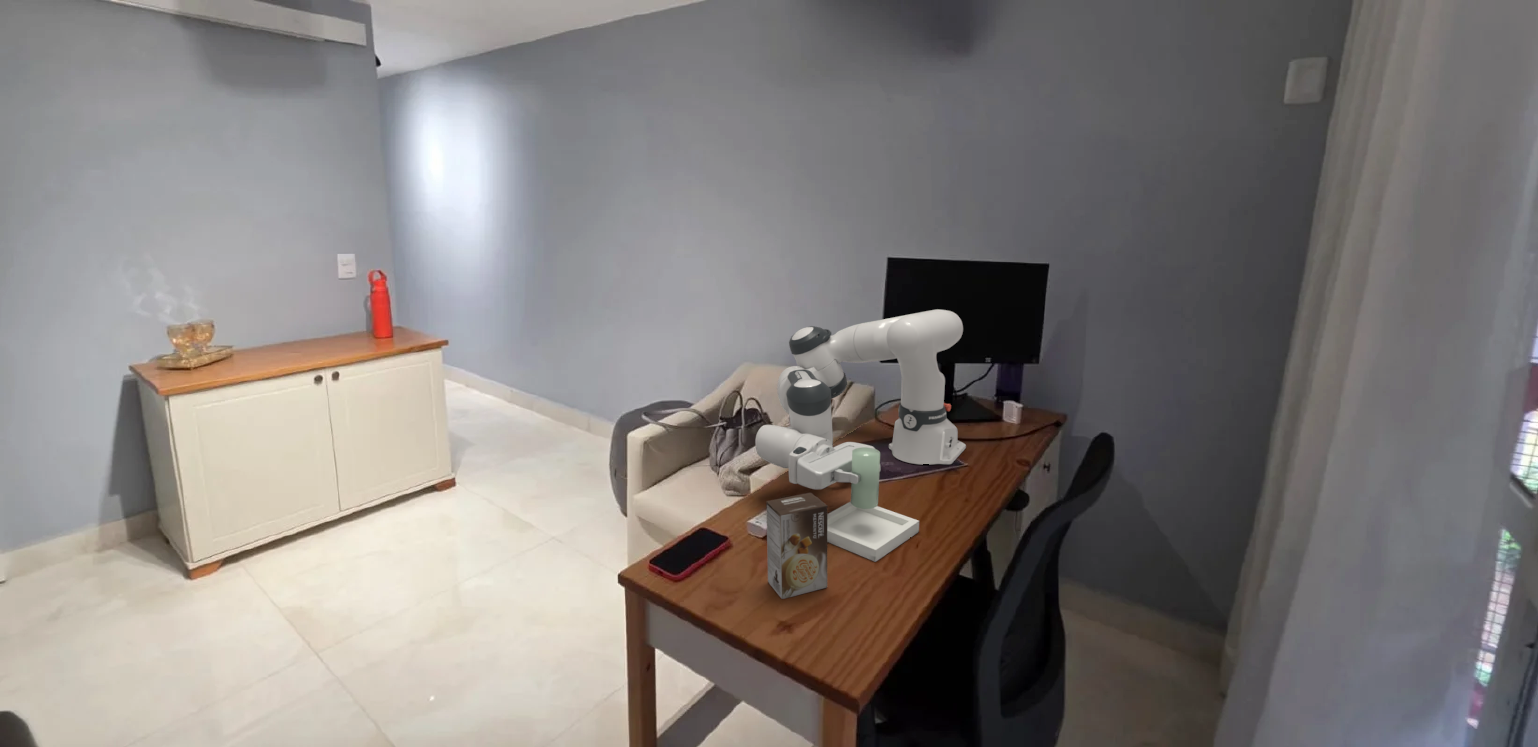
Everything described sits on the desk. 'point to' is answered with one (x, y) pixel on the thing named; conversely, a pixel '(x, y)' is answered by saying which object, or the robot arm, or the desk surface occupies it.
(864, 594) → the desk surface
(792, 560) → the coffee box
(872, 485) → the green cylinder
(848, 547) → the tray
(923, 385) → the robot arm
